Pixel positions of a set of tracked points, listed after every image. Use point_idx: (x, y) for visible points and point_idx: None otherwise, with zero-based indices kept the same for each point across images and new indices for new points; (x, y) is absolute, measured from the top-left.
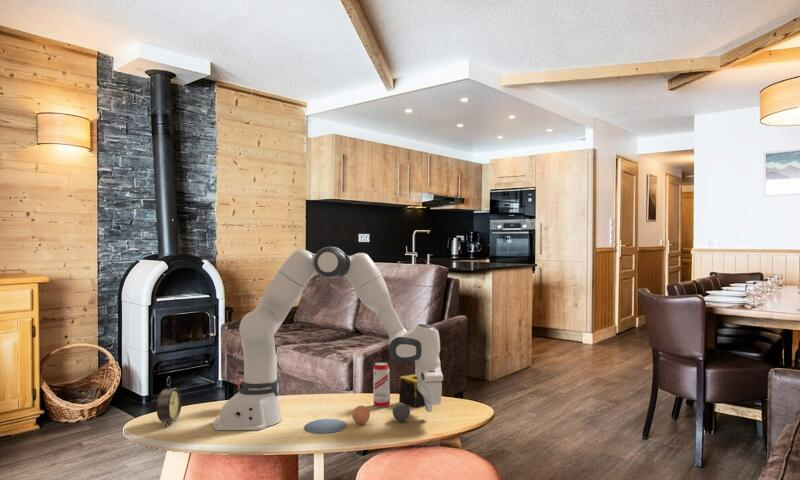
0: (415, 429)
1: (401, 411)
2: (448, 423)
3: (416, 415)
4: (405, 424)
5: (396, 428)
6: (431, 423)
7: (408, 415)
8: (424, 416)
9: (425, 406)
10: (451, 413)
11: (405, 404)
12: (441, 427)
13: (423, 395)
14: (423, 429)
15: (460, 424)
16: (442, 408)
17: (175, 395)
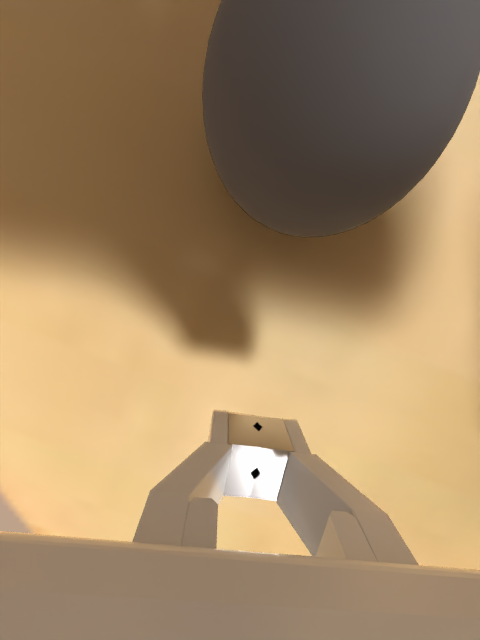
0: (35, 193)
1: (214, 21)
2: (112, 469)
3: (363, 339)
4: (190, 158)
5: (103, 10)
6: (146, 371)
7: (228, 191)
8: (314, 384)
9: (288, 439)
10: (290, 546)
11: (338, 115)
12: (41, 401)
13: (289, 616)
14: (22, 260)
15: (74, 521)
16: (403, 536)
17: None
